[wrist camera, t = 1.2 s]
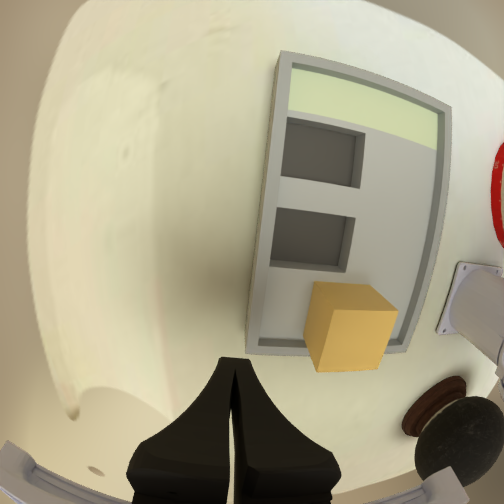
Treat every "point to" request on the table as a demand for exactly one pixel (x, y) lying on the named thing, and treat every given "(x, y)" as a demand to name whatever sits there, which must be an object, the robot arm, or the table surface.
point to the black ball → (455, 431)
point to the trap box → (346, 197)
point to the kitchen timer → (498, 195)
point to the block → (347, 326)
